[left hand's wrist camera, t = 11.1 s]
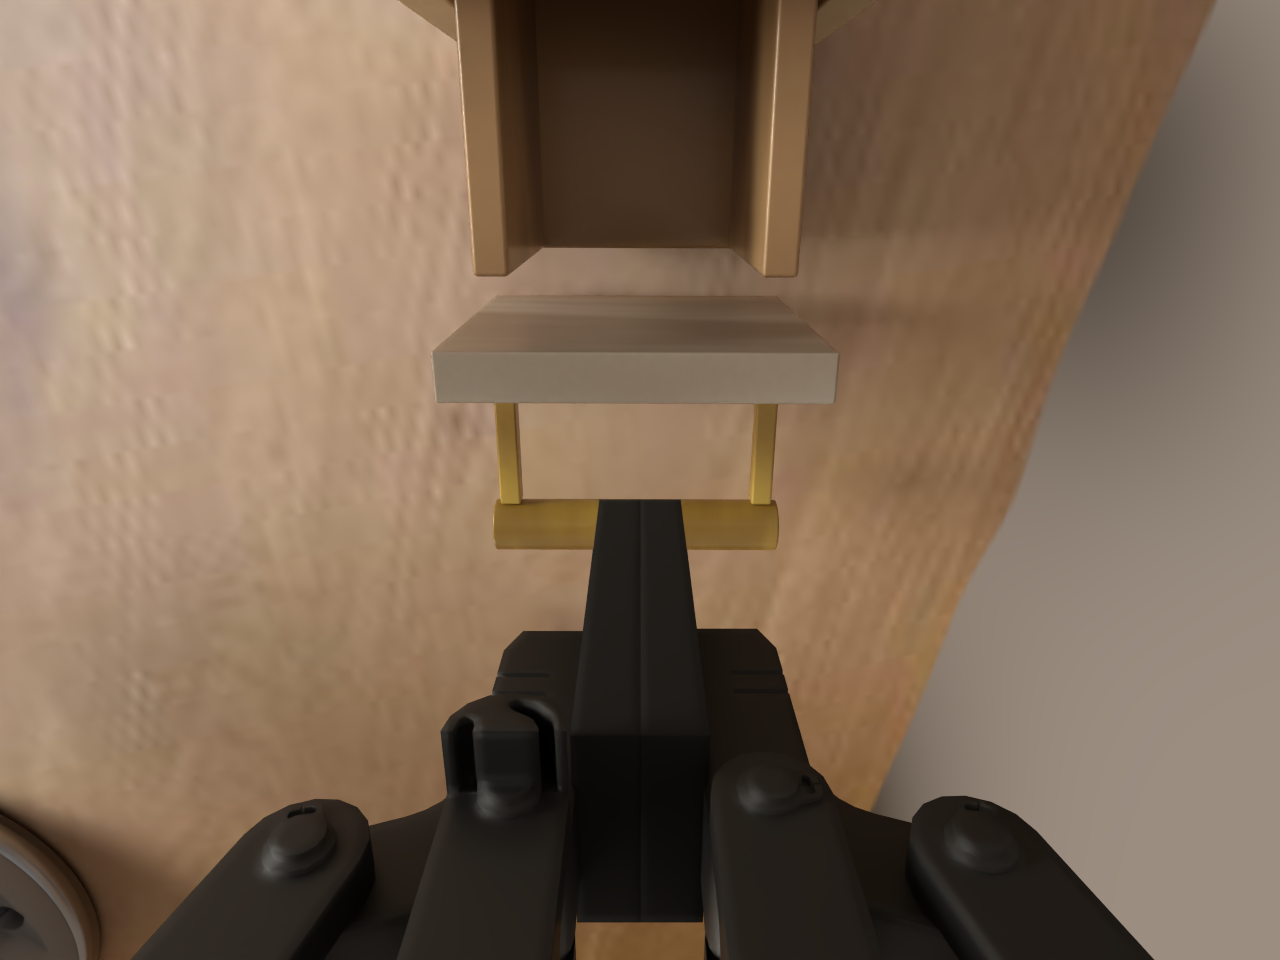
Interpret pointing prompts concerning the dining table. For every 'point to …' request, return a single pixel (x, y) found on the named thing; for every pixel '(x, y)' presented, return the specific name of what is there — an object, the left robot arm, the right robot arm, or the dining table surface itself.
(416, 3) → the cabinet
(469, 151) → the drawer
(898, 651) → the dining table surface
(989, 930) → the left robot arm
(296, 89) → the dining table surface
